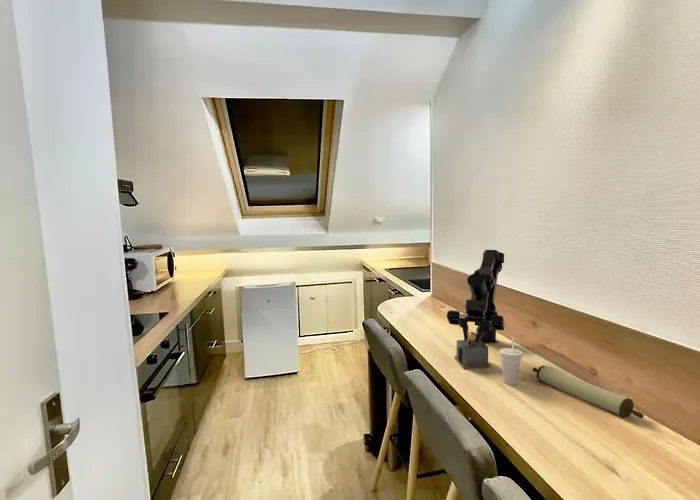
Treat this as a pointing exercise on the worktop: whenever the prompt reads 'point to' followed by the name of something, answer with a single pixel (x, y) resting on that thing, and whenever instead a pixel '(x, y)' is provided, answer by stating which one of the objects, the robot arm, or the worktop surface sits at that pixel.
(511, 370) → the smoothie
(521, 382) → the worktop surface
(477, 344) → the copper ball lever box
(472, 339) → the copper ball knob
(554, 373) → the rolling pin
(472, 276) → the robot arm
